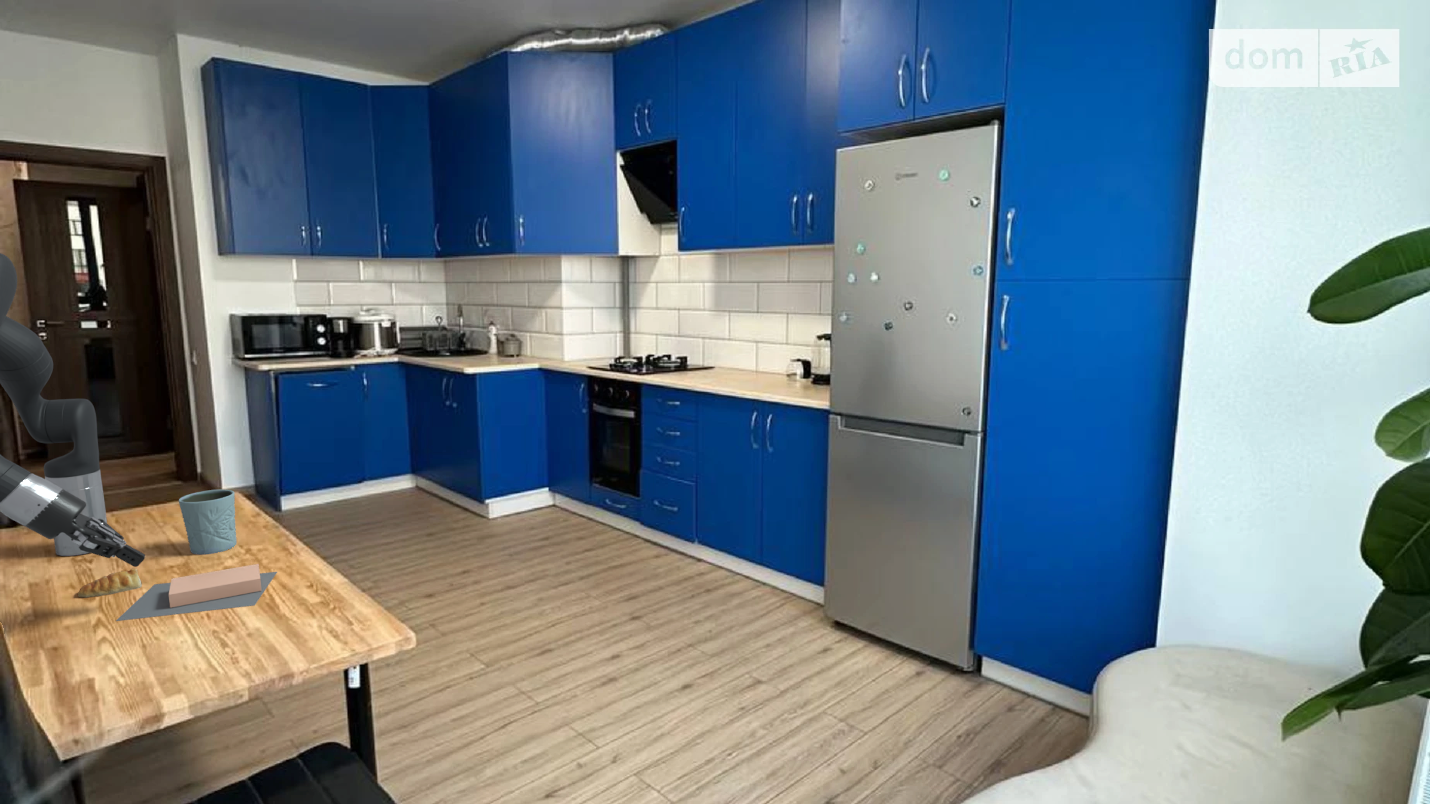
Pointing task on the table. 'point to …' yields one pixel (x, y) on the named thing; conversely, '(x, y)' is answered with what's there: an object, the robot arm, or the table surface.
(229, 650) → the table surface
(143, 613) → the mat
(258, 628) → the table surface
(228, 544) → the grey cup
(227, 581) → the tile
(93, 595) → the pastry
